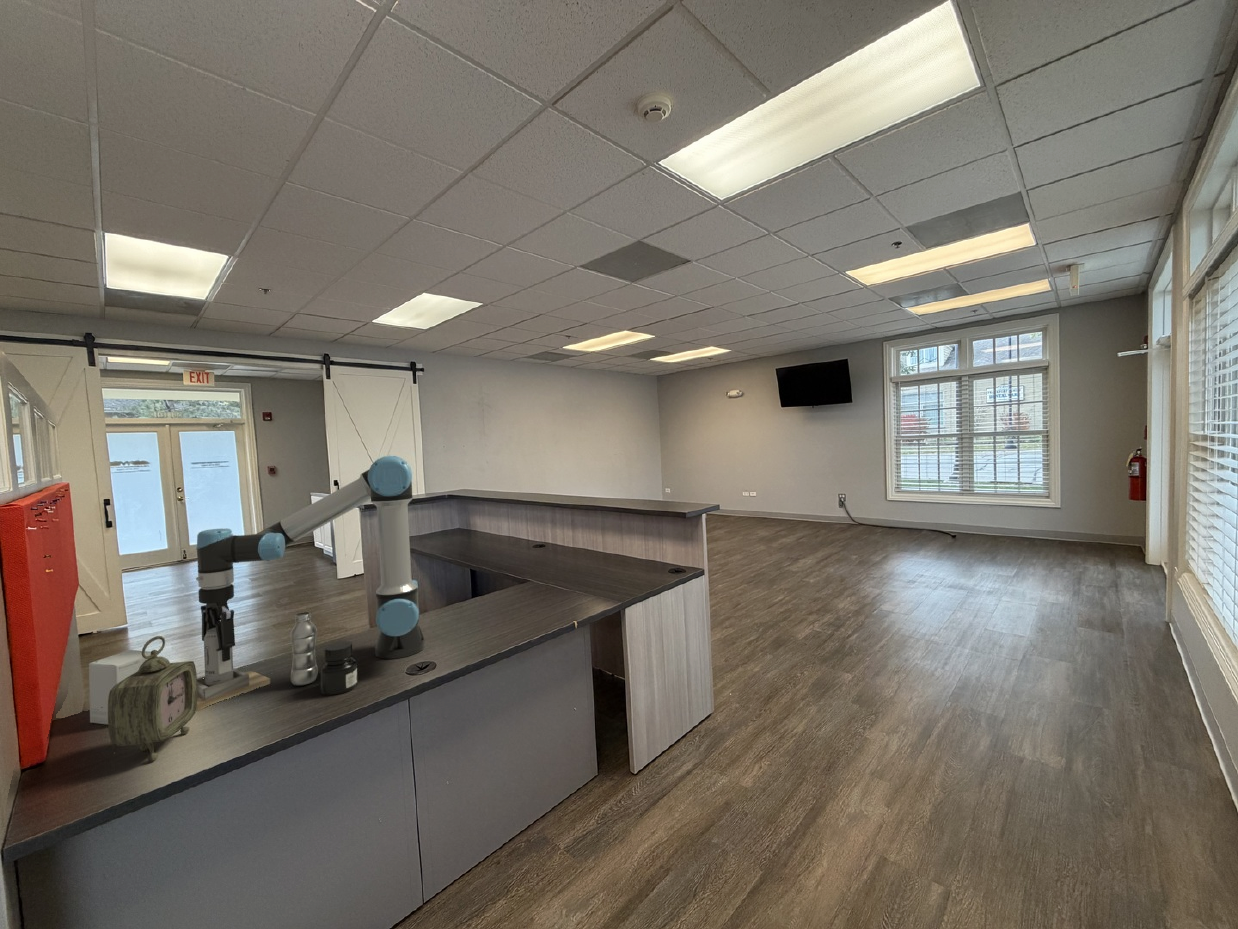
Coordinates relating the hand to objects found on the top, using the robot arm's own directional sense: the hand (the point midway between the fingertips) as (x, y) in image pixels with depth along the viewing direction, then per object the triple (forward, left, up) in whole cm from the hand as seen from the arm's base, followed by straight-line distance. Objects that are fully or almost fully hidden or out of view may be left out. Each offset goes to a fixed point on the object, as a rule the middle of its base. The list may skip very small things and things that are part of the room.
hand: (219, 669), depth 137 cm
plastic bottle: (-14, -15, -7) cm, 22 cm away
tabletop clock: (-18, +19, -7) cm, 27 cm away
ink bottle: (-26, -18, -7) cm, 32 cm away
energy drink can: (0, 0, -4) cm, 4 cm away
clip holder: (0, 0, -7) cm, 7 cm away
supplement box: (+8, +17, -7) cm, 20 cm away
